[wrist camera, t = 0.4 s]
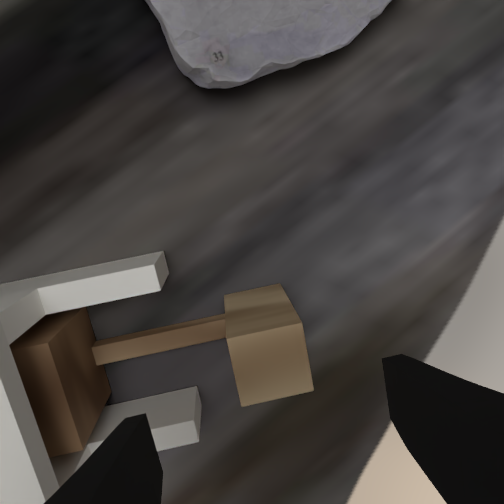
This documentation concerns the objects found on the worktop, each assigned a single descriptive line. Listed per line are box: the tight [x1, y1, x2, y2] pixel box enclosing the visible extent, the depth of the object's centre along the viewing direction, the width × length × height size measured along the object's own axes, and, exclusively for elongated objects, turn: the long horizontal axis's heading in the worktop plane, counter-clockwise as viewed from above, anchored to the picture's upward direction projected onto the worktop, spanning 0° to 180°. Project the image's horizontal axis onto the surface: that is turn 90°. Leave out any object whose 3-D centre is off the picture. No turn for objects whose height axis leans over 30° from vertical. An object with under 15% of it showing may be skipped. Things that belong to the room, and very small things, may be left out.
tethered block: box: [9, 283, 314, 458], centre depth 18 cm, size 5×15×6 cm, turn 101°
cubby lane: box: [0, 251, 202, 504], centre depth 17 cm, size 9×11×7 cm
